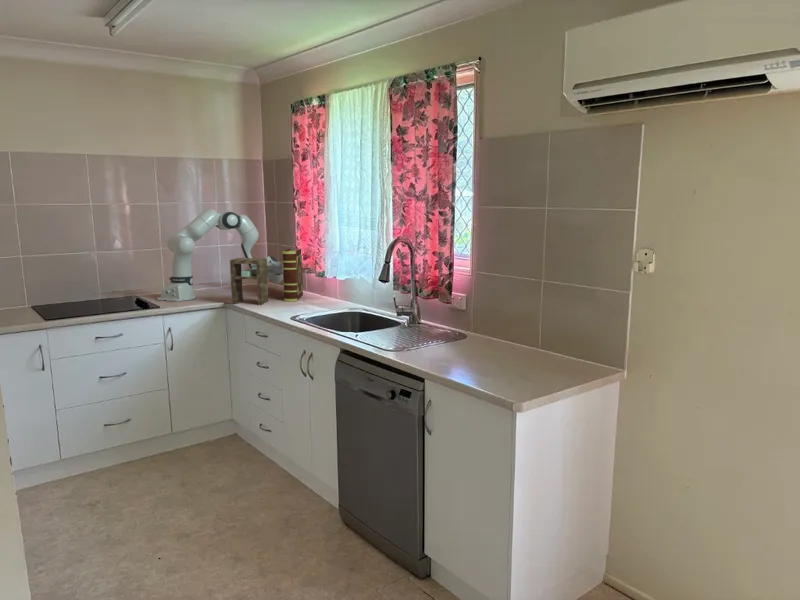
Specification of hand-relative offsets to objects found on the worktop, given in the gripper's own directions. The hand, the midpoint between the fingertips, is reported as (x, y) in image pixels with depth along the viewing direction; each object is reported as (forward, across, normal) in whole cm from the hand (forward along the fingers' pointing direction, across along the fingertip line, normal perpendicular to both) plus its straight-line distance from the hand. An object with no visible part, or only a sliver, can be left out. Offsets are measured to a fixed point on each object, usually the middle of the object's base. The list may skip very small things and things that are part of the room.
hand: (263, 260), depth 368 cm
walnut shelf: (+9, 0, +31) cm, 32 cm away
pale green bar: (+14, 0, +16) cm, 21 cm away
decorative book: (-8, +20, +21) cm, 31 cm away
